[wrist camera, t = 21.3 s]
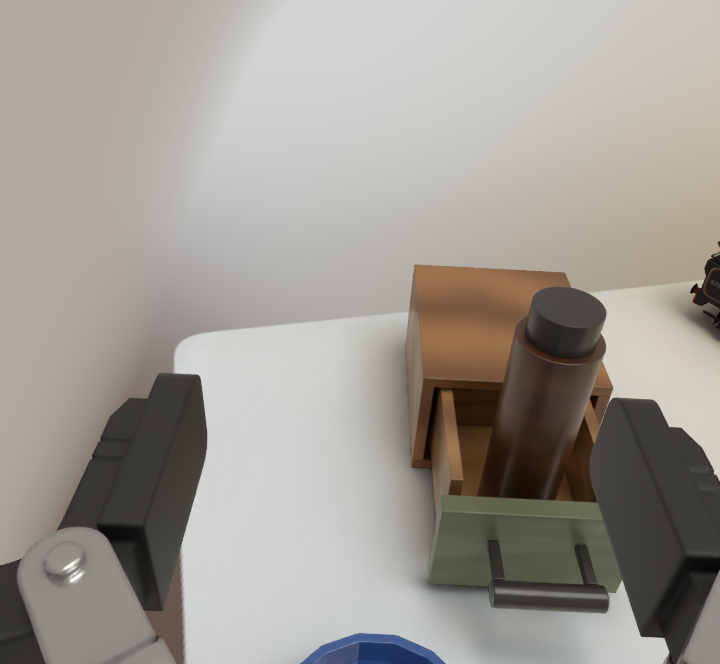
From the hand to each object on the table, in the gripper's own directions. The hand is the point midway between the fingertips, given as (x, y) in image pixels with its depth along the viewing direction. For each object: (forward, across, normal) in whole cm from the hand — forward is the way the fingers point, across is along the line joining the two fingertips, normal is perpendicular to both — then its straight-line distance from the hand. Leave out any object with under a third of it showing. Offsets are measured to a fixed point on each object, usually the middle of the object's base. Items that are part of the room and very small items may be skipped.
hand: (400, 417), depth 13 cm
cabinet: (+32, -10, +28) cm, 43 cm away
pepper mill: (+20, -10, +26) cm, 34 cm away
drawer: (+19, -10, +27) cm, 35 cm away
